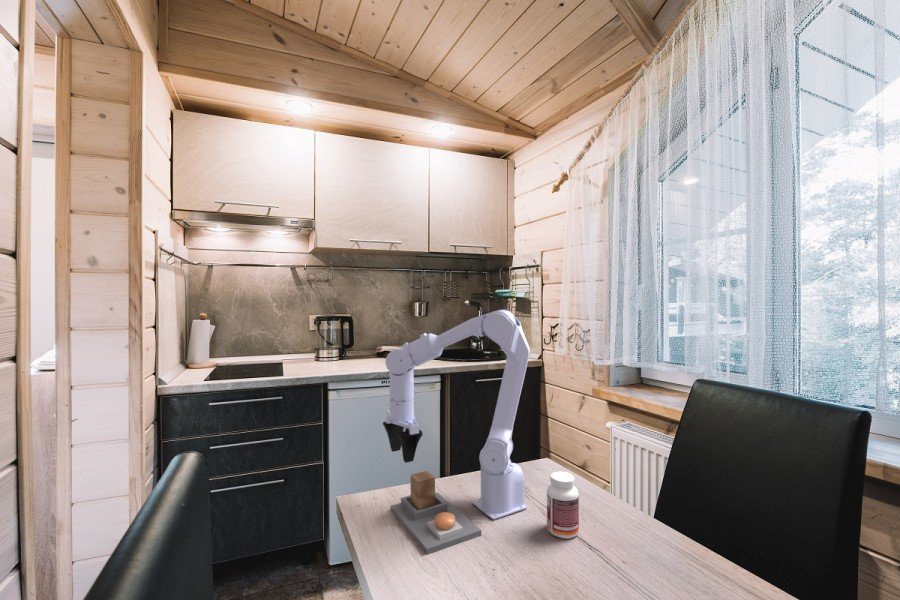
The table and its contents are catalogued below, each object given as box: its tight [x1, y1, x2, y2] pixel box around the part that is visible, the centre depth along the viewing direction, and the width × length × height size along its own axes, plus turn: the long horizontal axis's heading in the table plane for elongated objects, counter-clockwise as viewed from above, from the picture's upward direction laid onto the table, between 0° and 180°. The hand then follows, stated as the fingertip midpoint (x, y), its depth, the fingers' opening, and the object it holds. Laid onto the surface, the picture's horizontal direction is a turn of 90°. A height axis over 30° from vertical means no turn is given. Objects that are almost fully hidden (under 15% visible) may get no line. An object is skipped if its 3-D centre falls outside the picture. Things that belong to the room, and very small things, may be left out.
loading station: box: [389, 492, 482, 555], centre depth 86 cm, size 12×18×2 cm, turn 30°
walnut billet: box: [410, 470, 436, 511], centre depth 90 cm, size 4×4×7 cm
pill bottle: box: [546, 471, 580, 540], centre depth 83 cm, size 6×6×11 cm
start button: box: [435, 512, 455, 529], centre depth 82 cm, size 4×4×1 cm
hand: (402, 455), depth 98 cm, fingers open, 7 cm apart
